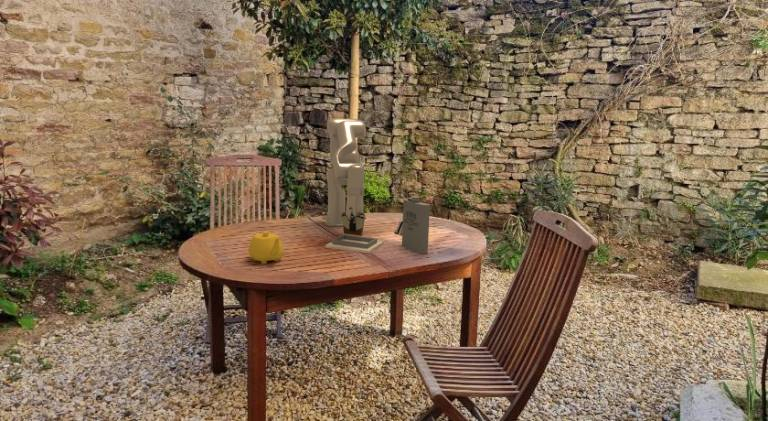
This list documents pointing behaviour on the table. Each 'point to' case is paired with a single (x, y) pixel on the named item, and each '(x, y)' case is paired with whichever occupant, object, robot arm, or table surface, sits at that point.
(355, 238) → the board
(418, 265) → the table surface
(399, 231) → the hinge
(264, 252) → the teapot
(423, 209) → the grey upright block
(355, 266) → the table surface
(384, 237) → the table surface
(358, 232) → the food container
